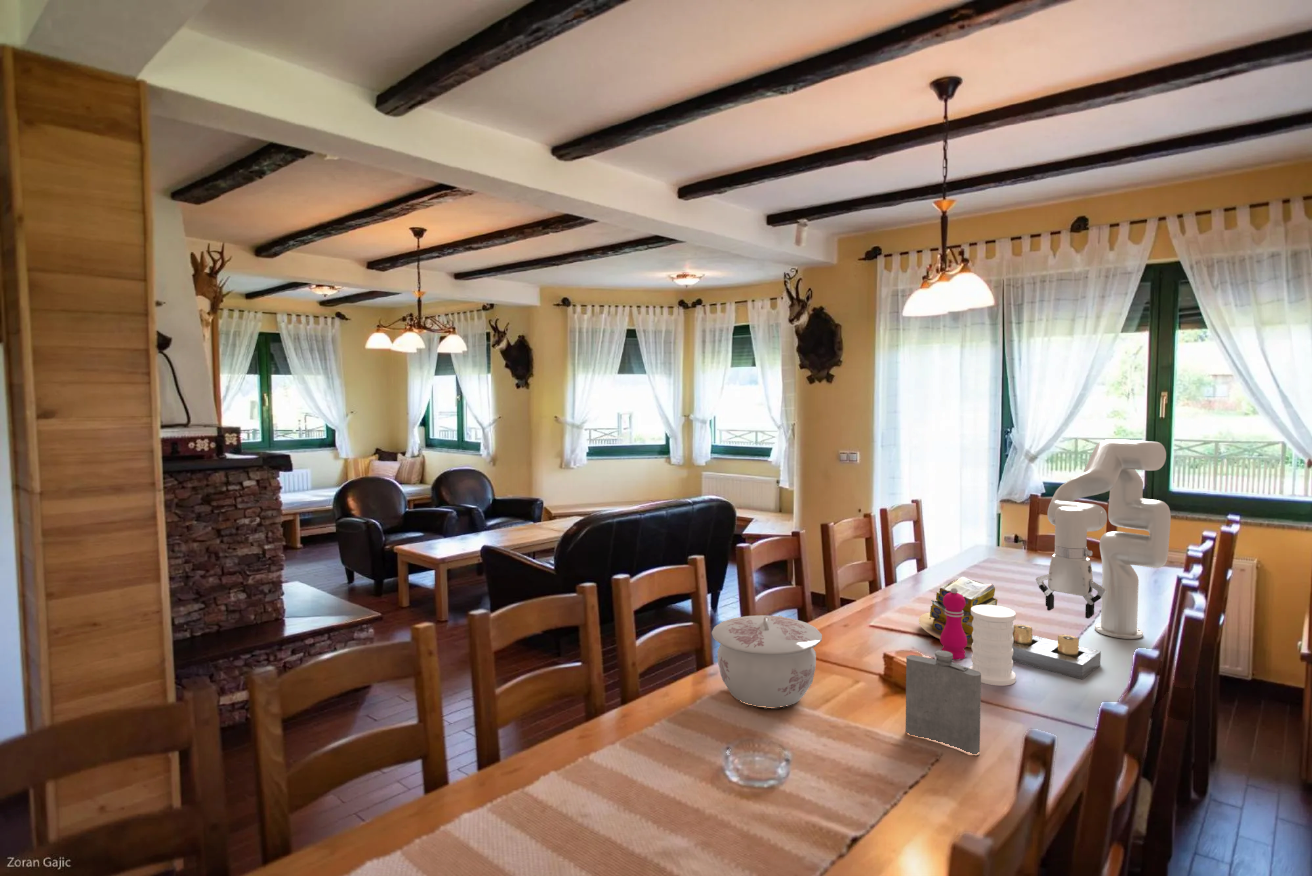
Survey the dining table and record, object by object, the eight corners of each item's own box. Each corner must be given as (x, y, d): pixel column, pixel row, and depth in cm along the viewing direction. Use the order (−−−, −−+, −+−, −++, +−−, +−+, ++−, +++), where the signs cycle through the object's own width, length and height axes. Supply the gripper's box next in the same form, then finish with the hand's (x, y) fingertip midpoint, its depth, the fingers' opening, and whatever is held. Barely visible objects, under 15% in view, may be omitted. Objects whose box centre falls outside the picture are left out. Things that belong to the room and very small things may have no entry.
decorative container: (969, 682, 189) (970, 615, 188) (966, 666, 200) (967, 602, 199) (1018, 688, 185) (1020, 619, 184) (1013, 671, 196) (1014, 606, 195)
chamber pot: (753, 732, 164) (752, 643, 162) (692, 688, 188) (691, 610, 186) (847, 706, 176) (848, 623, 175) (778, 667, 201) (778, 594, 199)
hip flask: (903, 733, 162) (904, 647, 161) (910, 727, 165) (911, 642, 164) (976, 758, 151) (978, 665, 150) (983, 750, 154) (984, 659, 153)
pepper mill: (969, 661, 203) (970, 591, 202) (942, 659, 205) (943, 590, 203) (964, 652, 210) (965, 584, 209) (937, 650, 212) (938, 583, 210)
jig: (1010, 643, 217) (1011, 617, 216) (1100, 665, 199) (1101, 637, 198) (990, 655, 208) (990, 627, 207) (1082, 679, 190) (1083, 650, 189)
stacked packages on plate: (1023, 640, 219) (1024, 586, 218) (963, 654, 209) (964, 597, 208) (958, 617, 241) (959, 568, 240) (901, 628, 231) (902, 577, 230)
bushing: (1061, 661, 202) (1061, 633, 202) (1080, 666, 198) (1081, 638, 198) (1054, 666, 199) (1055, 637, 198) (1074, 671, 195) (1074, 642, 195)
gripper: (1110, 554, 192) (1109, 617, 194) (1042, 544, 205) (1041, 603, 207) (1101, 560, 188) (1099, 624, 189) (1031, 549, 200) (1030, 609, 202)
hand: (1069, 613), depth 198 cm, fingers open, 9 cm apart
